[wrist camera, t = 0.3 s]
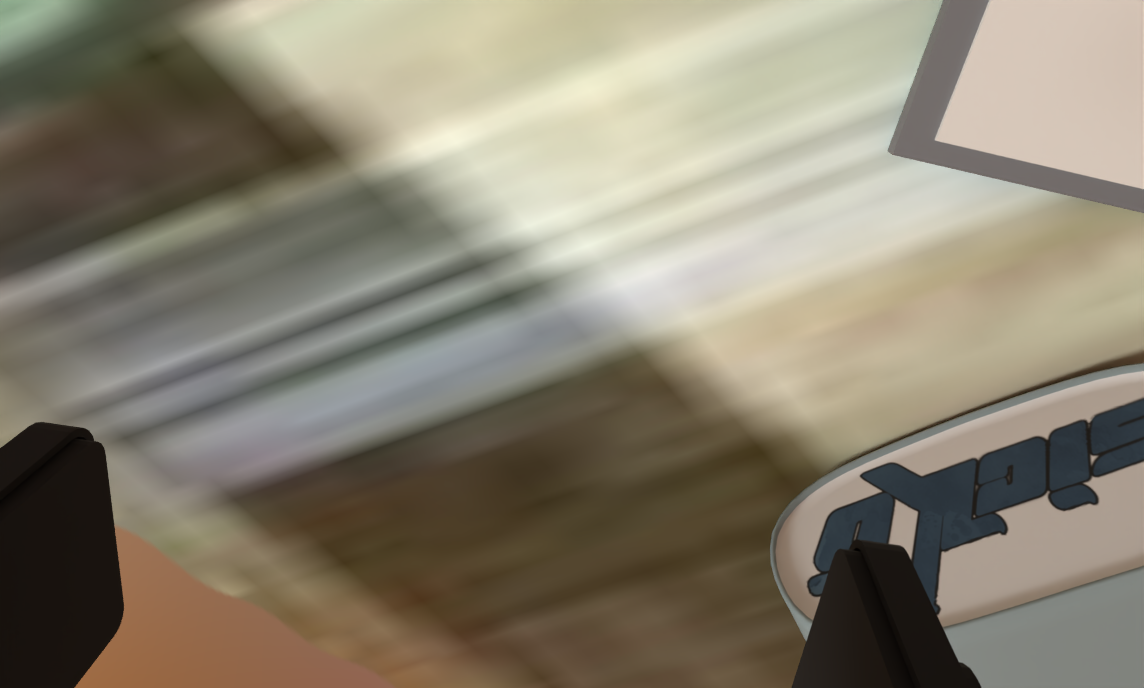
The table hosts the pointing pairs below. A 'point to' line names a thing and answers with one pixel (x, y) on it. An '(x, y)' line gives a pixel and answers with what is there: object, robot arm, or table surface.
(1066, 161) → the notepad
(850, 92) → the table surface
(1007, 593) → the grey rounded block
